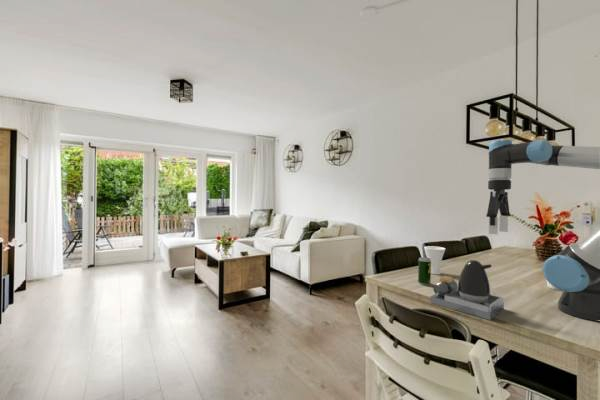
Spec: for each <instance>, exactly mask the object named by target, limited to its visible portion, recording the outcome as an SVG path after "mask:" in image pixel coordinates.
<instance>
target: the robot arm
mask: <svg viewBox="0 0 600 400" xmlns="http://www.w3.org/2000/svg"><path fill="white" fill-rule="evenodd" d="M527 163H529V164H530V163H531V164H536V165H543V166H557V167H559V166H560V167H567V168H571V167H572V168H583V169H594V170H600V146H584V145H583V146H580V145H579V146H578V145H560V144H559V145H555V144H554V145H552V143H550V141H548V140H546V139H545V140H533V141H529V142H527V141H526V142H520V143H513V141H512V140H510V139H501V140H500V139H498V140H493V141H491V142H490V143H489V147H488V171H487V175H488V179H489V180H488V181H487V188H488V190H491V191H490V192H489V195H490V196H489V203H488V207H487V213H486V218H488V235H498V233H499V232H502V233H503V232H504V233H508V229H509V228H508V227H509V226H508V225H509V220H508V219H509V217H510V216H511V213H510V205H509V197H508V194H509V192H508V190H511V189H512V180H511V179H512V165H514V164H527ZM505 190H507V191H505ZM498 214H500V215H499V218H498V217H497V216H498ZM498 223H499V224H498ZM498 225H499V226H498ZM498 229H499V230H498ZM545 260H546V261H545ZM545 260H544V263H543V264H542V265H543V266H542V272H543V276H544V277H545V280H546V279H547V280H546V282H547V281H548V282H549V283H550V284H551V285H553V286H554V287H556V288H557V289H560V290H559V291H562V293H561V295H560V297H559V298H558V302H557V308H558V309H559V311H561V312H563V313H564V314H566V315H570V316H573V317H576V318H579V317H580V319H583V318H584V320H587V319H590V320H589V321H592V320H600V226H598V227H597V228H595V230H593V232H591V233H590V234H589V235H587V236H586V237H585V238H584V239H583V240H581V242H571V243H569V244H568V245H567V246H566V247H565V248H564V249H562V250H561V251H560V252H559V253H558V254H555V255H552V256H551V257H548V258H547V259H545Z"/></svg>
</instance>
